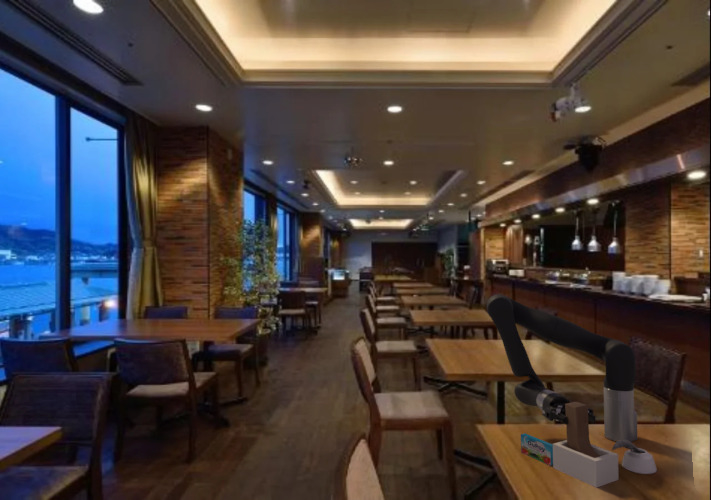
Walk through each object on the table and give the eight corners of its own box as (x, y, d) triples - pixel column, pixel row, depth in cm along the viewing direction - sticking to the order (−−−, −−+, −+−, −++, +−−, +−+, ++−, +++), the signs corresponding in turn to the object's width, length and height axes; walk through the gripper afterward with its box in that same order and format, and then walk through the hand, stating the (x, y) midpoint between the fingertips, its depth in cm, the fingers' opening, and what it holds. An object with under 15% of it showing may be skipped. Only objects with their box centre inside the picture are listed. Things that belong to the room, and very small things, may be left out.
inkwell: (663, 469, 149) (662, 435, 149) (631, 485, 139) (630, 449, 139) (631, 458, 156) (630, 426, 157) (599, 474, 146) (598, 439, 146)
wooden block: (603, 472, 143) (600, 409, 143) (591, 475, 141) (588, 411, 141) (579, 460, 151) (576, 400, 151) (567, 463, 150) (564, 403, 150)
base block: (574, 462, 155) (574, 437, 155) (618, 480, 143) (617, 454, 143) (553, 468, 151) (552, 443, 151) (596, 488, 138) (595, 461, 138)
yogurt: (554, 465, 153) (554, 445, 153) (551, 466, 152) (550, 446, 152) (524, 451, 163) (524, 432, 163) (521, 452, 163) (520, 433, 163)
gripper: (531, 393, 164) (557, 409, 148) (573, 391, 166) (602, 406, 150) (532, 416, 164) (557, 434, 148) (573, 414, 166) (603, 431, 150)
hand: (580, 420), depth 149 cm, fingers open, 8 cm apart
